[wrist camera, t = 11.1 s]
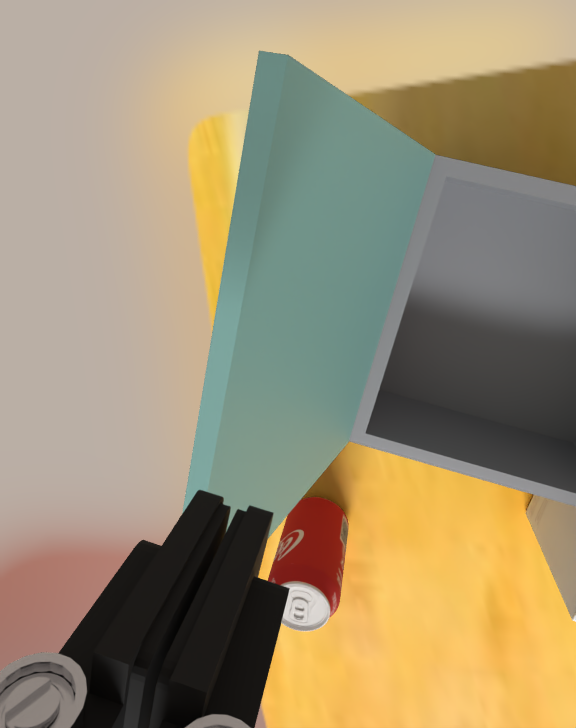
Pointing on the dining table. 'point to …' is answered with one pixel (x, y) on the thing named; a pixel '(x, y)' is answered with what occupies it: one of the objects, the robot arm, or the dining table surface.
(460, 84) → the dining table surface
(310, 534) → the beverage can
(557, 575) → the supplement box
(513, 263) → the box
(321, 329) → the lid
